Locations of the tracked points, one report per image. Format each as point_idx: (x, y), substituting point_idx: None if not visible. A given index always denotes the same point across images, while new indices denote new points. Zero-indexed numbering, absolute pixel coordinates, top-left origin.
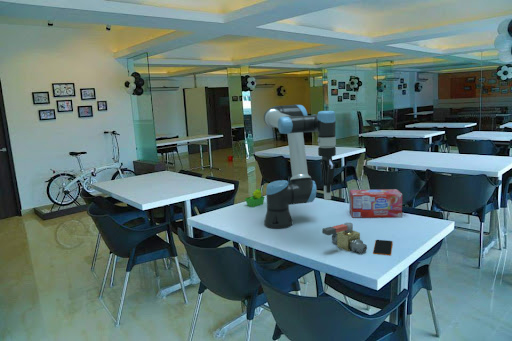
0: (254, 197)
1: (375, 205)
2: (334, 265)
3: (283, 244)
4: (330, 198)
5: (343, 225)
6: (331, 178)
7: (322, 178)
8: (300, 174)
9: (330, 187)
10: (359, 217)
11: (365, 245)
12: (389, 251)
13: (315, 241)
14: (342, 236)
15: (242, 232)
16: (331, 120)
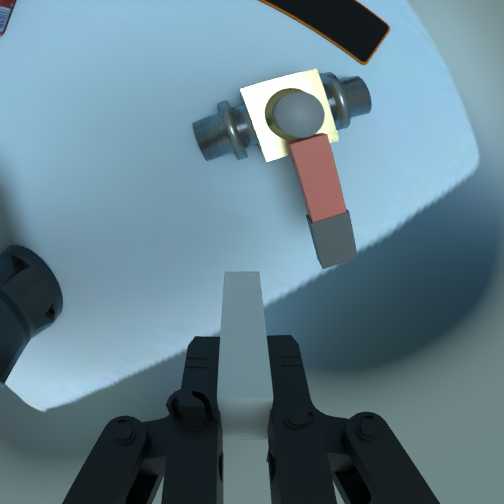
0: None
1: None
2: (395, 223)
3: (191, 314)
4: (258, 281)
5: (314, 151)
6: (417, 500)
7: (147, 495)
8: None
9: (268, 371)
10: (10, 11)
11: (362, 82)
12: (366, 12)
13: (184, 214)
14: None
15: (95, 372)
16: None
